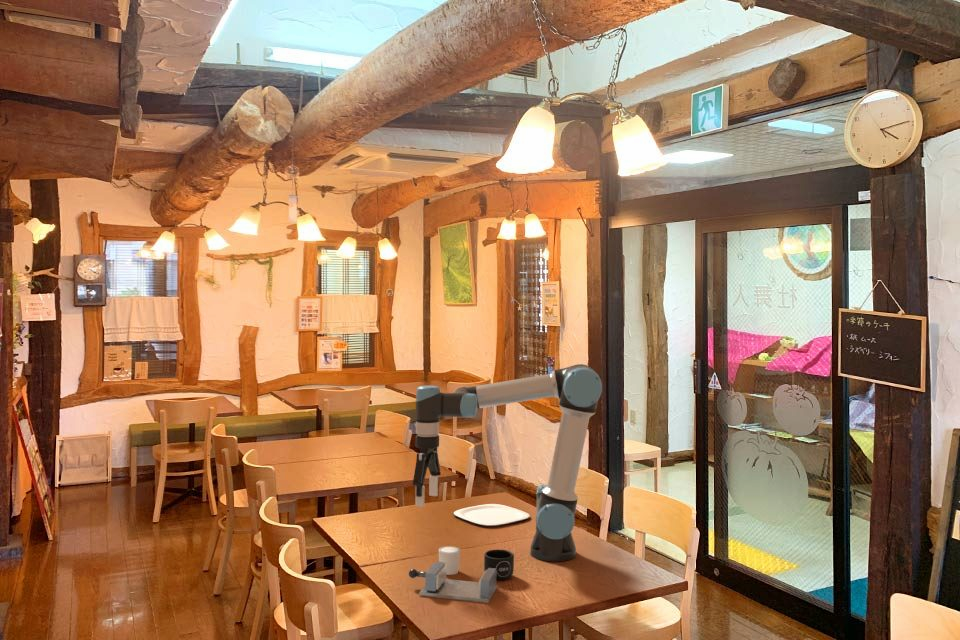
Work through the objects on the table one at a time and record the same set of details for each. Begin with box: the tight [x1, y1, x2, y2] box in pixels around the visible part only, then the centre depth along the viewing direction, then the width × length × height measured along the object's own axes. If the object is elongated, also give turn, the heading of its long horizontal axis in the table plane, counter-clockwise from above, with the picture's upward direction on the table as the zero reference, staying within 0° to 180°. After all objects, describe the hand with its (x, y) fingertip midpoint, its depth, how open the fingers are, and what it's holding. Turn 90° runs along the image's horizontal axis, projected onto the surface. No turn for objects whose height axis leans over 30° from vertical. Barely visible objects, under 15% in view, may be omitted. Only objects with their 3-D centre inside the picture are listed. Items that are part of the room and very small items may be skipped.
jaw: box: [408, 561, 447, 591], centre depth 228 cm, size 10×10×5 cm
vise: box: [419, 568, 498, 604], centre depth 226 cm, size 20×12×6 cm, turn 77°
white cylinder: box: [438, 545, 461, 576], centre depth 242 cm, size 7×7×7 cm
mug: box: [483, 549, 515, 581], centre depth 240 cm, size 12×9×7 cm
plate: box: [453, 503, 531, 527], centre depth 303 cm, size 25×25×2 cm
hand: (426, 501), depth 249 cm, fingers open, 13 cm apart
